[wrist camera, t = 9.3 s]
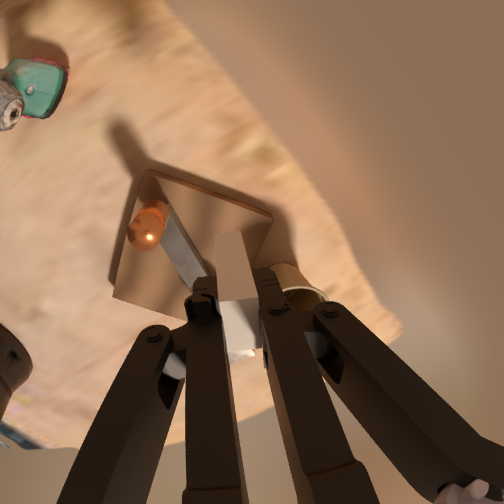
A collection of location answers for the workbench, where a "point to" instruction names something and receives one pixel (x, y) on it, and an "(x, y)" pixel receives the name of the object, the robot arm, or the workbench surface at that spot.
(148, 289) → the board
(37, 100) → the power drill
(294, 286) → the flower pot
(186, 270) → the lever
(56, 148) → the workbench surface
